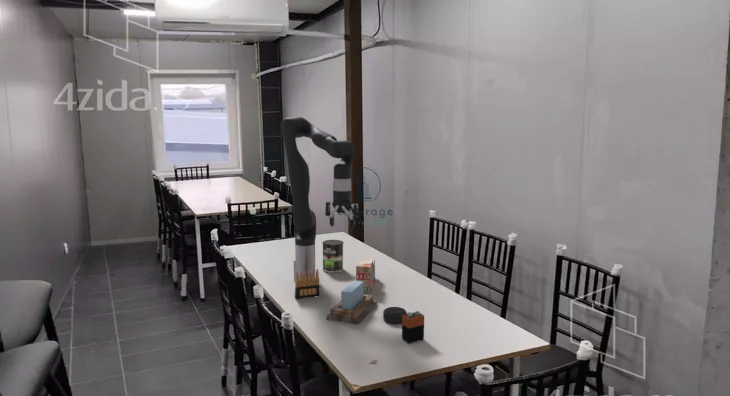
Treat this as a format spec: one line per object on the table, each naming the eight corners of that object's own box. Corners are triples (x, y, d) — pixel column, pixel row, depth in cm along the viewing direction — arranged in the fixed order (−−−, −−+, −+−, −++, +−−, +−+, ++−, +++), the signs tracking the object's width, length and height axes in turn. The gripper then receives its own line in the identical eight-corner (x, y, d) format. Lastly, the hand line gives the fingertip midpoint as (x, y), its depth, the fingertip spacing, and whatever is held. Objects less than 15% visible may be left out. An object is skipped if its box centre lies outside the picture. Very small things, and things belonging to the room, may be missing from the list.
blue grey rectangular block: (341, 313, 212) (341, 291, 210) (353, 301, 225) (354, 280, 223) (350, 315, 210) (351, 292, 209) (363, 302, 223) (363, 281, 222)
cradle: (326, 319, 210) (326, 309, 209) (347, 300, 230) (347, 291, 230) (358, 324, 205) (358, 314, 205) (376, 304, 226) (377, 295, 225)
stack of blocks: (362, 277, 261) (362, 252, 259) (375, 278, 260) (375, 253, 258) (355, 292, 240) (355, 265, 238) (370, 293, 239) (370, 266, 237)
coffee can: (338, 273, 266) (338, 245, 264) (319, 271, 270) (318, 243, 268) (346, 268, 276) (346, 240, 273) (328, 265, 280) (328, 238, 277)
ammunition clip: (295, 299, 231) (295, 271, 229) (294, 297, 233) (294, 270, 231) (320, 296, 235) (320, 269, 233) (318, 294, 237) (318, 268, 235)
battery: (401, 339, 193) (401, 312, 191) (416, 335, 196) (417, 308, 194) (408, 344, 189) (409, 316, 187) (424, 339, 192) (425, 312, 191)
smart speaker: (399, 326, 204) (399, 316, 203) (378, 321, 209) (378, 311, 208) (410, 319, 211) (410, 309, 211) (390, 314, 216) (390, 304, 215)
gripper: (322, 189, 227) (322, 227, 230) (354, 191, 223) (354, 230, 225) (329, 186, 234) (329, 223, 237) (361, 188, 230) (360, 226, 232)
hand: (341, 227), depth 231 cm, fingers open, 8 cm apart
